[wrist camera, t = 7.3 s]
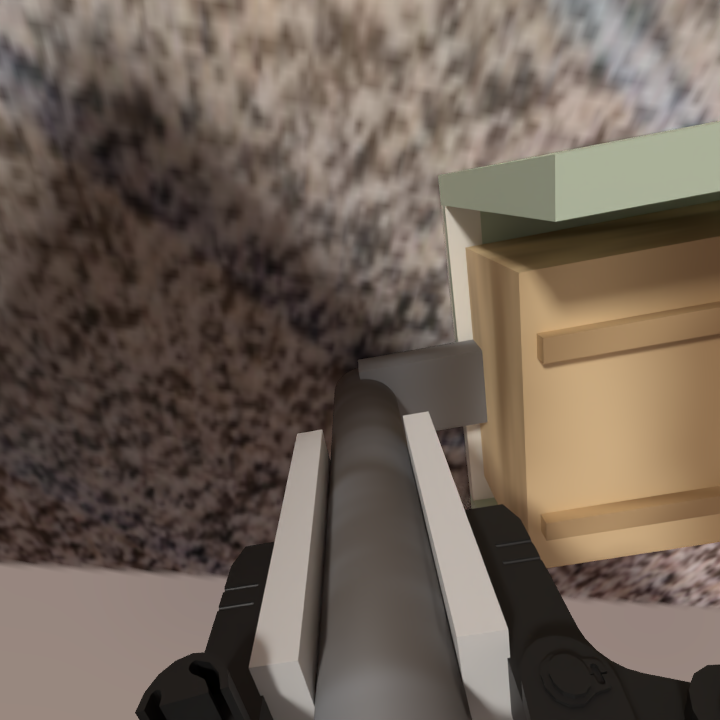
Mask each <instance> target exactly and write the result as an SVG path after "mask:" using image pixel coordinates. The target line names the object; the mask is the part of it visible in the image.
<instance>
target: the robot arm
mask: <svg viewBox="0 0 720 720" xmlns="http://www.w3.org/2000/svg"><path fill="white" fill-rule="evenodd" d="M403 421H404V427H405V433H406V439H407V446H408V451H409V455H410V460H411V464H412V468H413V472H414V477H415V481H416V485H417V489H418V494H419V498H420V502H421V507H422V511H423V515H424V519H425V524H426V528H427V532H428V536H429V541H430V545H431V549H432V554H433V558H434V562H435V566H436V571H437V575H438V579H439V583H440V588H441V592H442V596H443V601H444V605H445V609H446V613H447V618H448V622H449V626H450V630H451V635H452V639H453V643H454V647H455V652H456V656H457V660H458V665H459V669H460V673H461V677H462V682H463V686H464V688H465V692H466V696H467V700H468V705H469V709H470V713H471V717H472V720H720V665H707V666H706V667H704V668H702V669H701V670H699V671H698V672H696V673H694V675H693V678H692V681H691V683H690V682H685V681H680V680H674V679H670V678H665V677H660V676H655V675H649V674H644V673H640V672H637V671H634V670H630V669H627V668H625V667H623V666H620V665H619V664H617V663H615V662H612V661H611V660H609V659H608V658H606V657H605V656H604V655H602V654H601V653H599V652H598V651H597V650H596V649H595V648H594V647H593V646H592V645H591V644H590V643H589V642H588V641H587V640H586V639H585V638H584V636H583V635H582V633H581V632H580V630H579V629H578V627H577V625H576V623H575V622H574V620H573V618H572V616H571V614H570V612H569V610H568V608H567V606H566V604H565V603H564V601H563V599H562V597H561V595H560V593H559V591H558V589H557V587H556V585H555V584H554V582H553V580H552V578H551V576H550V574H549V572H548V570H547V568H546V566H545V565H544V563H543V561H542V560H541V559H540V555H539V553H538V551H537V549H536V547H535V546H534V544H533V543H532V541H531V538H530V536H529V534H528V532H527V530H526V529H525V527H524V525H523V523H522V521H521V519H520V518H519V517H517V516H516V515H515V514H514V513H513V512H512V511H510V510H509V509H508V508H507V507H506V506H504V505H503V504H499V505H493V506H487V507H481V508H474V509H468V510H464V507H463V504H462V502H461V499H460V496H459V494H458V491H457V488H456V485H455V483H454V480H453V477H452V474H451V472H450V469H449V466H448V464H447V461H446V458H445V455H444V453H443V450H442V447H441V444H440V442H439V439H438V436H437V433H436V431H435V428H434V425H433V423H432V420H431V417H430V414H429V412H428V411H427V412H422V413H416V414H410V415H404V416H403ZM329 475H330V458H329V454H328V450H327V446H326V442H325V438H324V434H323V430H316V431H310V432H305V433H299V434H297V437H296V442H295V447H294V451H293V456H292V461H291V466H290V471H289V476H288V480H287V485H286V490H285V495H284V500H283V504H282V509H281V514H280V519H279V524H278V528H277V533H276V538H275V542H271V543H265V544H259V545H253V546H246V547H245V548H244V550H243V551H242V552H241V554H240V555H239V557H238V558H237V559H236V561H235V562H234V563H233V565H232V566H231V569H230V572H229V576H228V579H227V582H226V585H225V592H224V593H223V595H222V598H221V602H220V605H219V611H218V612H217V615H216V618H215V621H214V624H213V627H212V630H211V634H210V637H209V640H208V643H207V647H206V650H205V653H193V654H190V655H188V656H186V657H184V658H181V659H179V660H177V661H175V662H174V663H172V664H171V665H170V666H169V667H168V668H166V669H165V670H164V671H163V672H162V673H160V674H159V675H158V676H157V677H156V679H155V680H154V681H153V682H152V684H151V685H150V686H149V688H148V689H147V690H146V691H145V693H144V695H143V697H142V699H141V701H140V704H139V706H138V708H137V710H136V712H135V713H136V715H137V716H138V718H139V720H314V711H315V695H316V680H317V664H318V648H319V633H320V617H321V601H322V585H323V570H324V554H325V538H326V522H327V507H328V491H329Z"/></svg>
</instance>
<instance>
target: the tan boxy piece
mask: <svg viewBox="0 0 720 720" xmlns="http://www.w3.org/2000/svg"><path fill="white" fill-rule="evenodd" d="M465 249H466V261H467V273H468V285H469V297H470V310H471V322H472V334H473V340H467V341H462V342H456V343H450V344H445V345H439V346H433V347H428V348H422V349H416V350H411V351H405V352H399V353H394V354H388V355H383V356H377V357H371V358H366V359H360V360H358V368H357V369H354V370H351V371H349V372H347V373H346V374H345V375H344V376H342V378H341V379H340V380H339V382H338V383H337V386H336V389H335V397H334V412H333V428H332V444H331V460H330V475H329V491H328V507H327V522H326V538H325V554H324V570H323V585H322V601H321V617H320V633H319V648H318V664H317V680H316V695H315V711H314V720H472V717H471V713H470V709H469V705H468V700H467V696H466V692H465V688H464V686H463V682H462V677H461V673H460V669H459V665H458V660H457V656H456V652H455V647H454V643H453V639H452V635H451V630H450V626H449V622H448V618H447V613H446V609H445V605H444V601H443V596H442V592H441V588H440V583H439V579H438V575H437V571H436V566H435V562H434V558H433V554H432V549H431V545H430V541H429V536H428V532H427V528H426V524H425V519H424V515H423V511H422V507H421V502H420V498H419V494H418V489H417V485H416V481H415V477H414V472H413V468H412V464H411V460H410V455H409V451H408V446H407V442H406V437H405V436H406V433H405V427H404V421H403V416H404V415H410V414H416V413H422V412H427V411H428V412H429V414H430V417H431V420H432V423H433V425H434V428H435V431H438V430H444V429H450V428H456V427H462V426H468V425H474V424H480V430H481V442H482V454H483V466H484V477H485V479H486V481H487V483H488V485H489V487H490V489H491V491H492V493H493V495H494V497H495V499H496V502H497V504H498V505H499V504H503V505H504V506H506V507H507V508H508V509H509V510H510V511H512V512H513V513H514V514H515V515H516V516H517V517H519V518H520V519H521V521H522V523H523V525H524V527H525V529H526V530H527V532H528V534H529V536H530V538H531V541H532V543H533V544H534V546H535V547H536V549H537V551H538V553H539V555H540V559H541V560H542V561H543V563H544V565H545V566H546V568H552V567H558V566H565V565H571V564H578V563H584V562H591V561H597V560H604V559H610V558H617V557H623V556H630V555H637V554H643V553H650V552H656V551H663V550H669V549H676V548H682V547H689V546H695V545H702V544H708V543H715V542H720V200H718V201H713V202H707V203H702V204H697V205H691V206H686V207H680V208H675V209H670V210H664V211H659V212H654V213H648V214H643V215H637V216H632V217H627V218H621V219H616V220H611V221H605V222H600V223H594V224H589V225H584V226H578V227H573V228H568V229H562V230H557V231H552V232H546V233H541V234H535V235H530V236H525V237H519V238H514V239H509V240H503V241H498V242H492V243H487V244H482V245H476V246H471V247H466V248H465Z"/></svg>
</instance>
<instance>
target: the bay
mask: <svg viewBox="0 0 720 720" xmlns="http://www.w3.org/2000/svg"><path fill="white" fill-rule="evenodd" d="M438 180H439V190H440V200H441V210H442V220H443V230H444V239H445V249H446V259H447V269H448V279H449V289H450V299H451V309H452V319H453V329H454V339H455V343H456V342H462V341H467V340H473V334H472V322H471V310H470V297H469V285H468V273H467V261H466V249H465V248H466V247H471V246H476V245H482V244H487V243H492V242H498V241H503V240H509V239H514V238H519V237H525V236H530V235H535V234H541V233H546V232H552V231H557V230H562V229H568V228H573V227H578V226H584V225H589V224H594V223H600V222H605V221H611V220H616V219H621V218H627V217H632V216H637V215H643V214H648V213H654V212H659V211H664V210H670V209H675V208H680V207H686V206H691V205H697V204H702V203H707V202H713V201H718V200H720V121H716V122H711V123H706V124H701V125H696V126H690V127H685V128H680V129H675V130H670V131H665V132H659V133H654V134H649V135H644V136H639V137H634V138H628V139H623V140H618V141H613V142H608V143H603V144H597V145H592V146H587V147H582V148H577V149H572V150H566V151H561V152H556V153H551V154H546V155H541V156H535V157H530V158H525V159H520V160H515V161H510V162H504V163H499V164H494V165H489V166H484V167H479V168H474V169H468V170H463V171H458V172H453V173H448V174H443V175H438ZM463 429H464V439H465V449H466V459H467V469H468V479H469V489H470V499H471V508H472V509H474V508H481V507H487V506H493V505H498V504H497V502H496V499H495V497H494V495H493V493H492V491H491V489H490V487H489V485H488V483H487V481H486V479H485V477H484V466H483V454H482V442H481V430H480V424H474V425H468V426H463Z"/></svg>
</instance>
